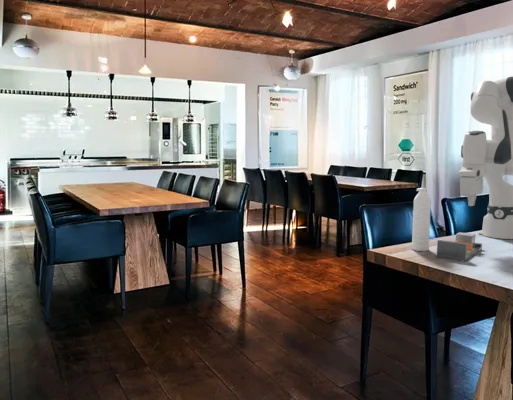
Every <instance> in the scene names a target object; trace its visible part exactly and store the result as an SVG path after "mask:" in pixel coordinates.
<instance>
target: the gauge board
mask: <svg viewBox="0 0 513 400" xmlns="http://www.w3.org/2000/svg"><path fill="white" fill-rule="evenodd" d="M436 243H437V247H436V257H437V258H440V259H447V260H455V261H460V262H466V261H467V260H469V259H471V258H473V256H475V255H477V253H479V252H480V251H482V250H483V243H480V242H475V247H473V248H472V250H469V249H467V244H468V243H460V242H455V241H450V240H443V239H442V240H441V239H438V240H437V242H436Z"/></svg>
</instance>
